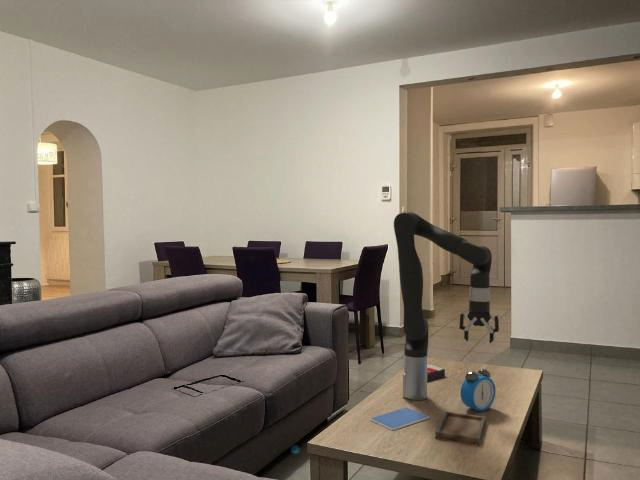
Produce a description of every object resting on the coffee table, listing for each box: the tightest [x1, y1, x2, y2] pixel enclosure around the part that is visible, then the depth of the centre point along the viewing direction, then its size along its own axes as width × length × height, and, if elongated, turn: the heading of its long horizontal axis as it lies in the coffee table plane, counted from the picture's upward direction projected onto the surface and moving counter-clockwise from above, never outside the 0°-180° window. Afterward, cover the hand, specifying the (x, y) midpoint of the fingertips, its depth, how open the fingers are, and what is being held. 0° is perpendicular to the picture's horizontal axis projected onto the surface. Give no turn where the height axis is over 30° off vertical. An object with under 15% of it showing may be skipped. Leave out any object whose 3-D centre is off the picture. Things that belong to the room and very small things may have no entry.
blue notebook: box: [369, 407, 431, 432], centre depth 193 cm, size 19×13×1 cm, turn 126°
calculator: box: [427, 363, 446, 382], centre depth 244 cm, size 11×4×15 cm
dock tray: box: [434, 410, 486, 446], centre depth 183 cm, size 14×20×2 cm
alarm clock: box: [460, 368, 497, 413], centre depth 203 cm, size 13×6×15 cm, turn 121°
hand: (478, 341), depth 202 cm, fingers open, 8 cm apart
